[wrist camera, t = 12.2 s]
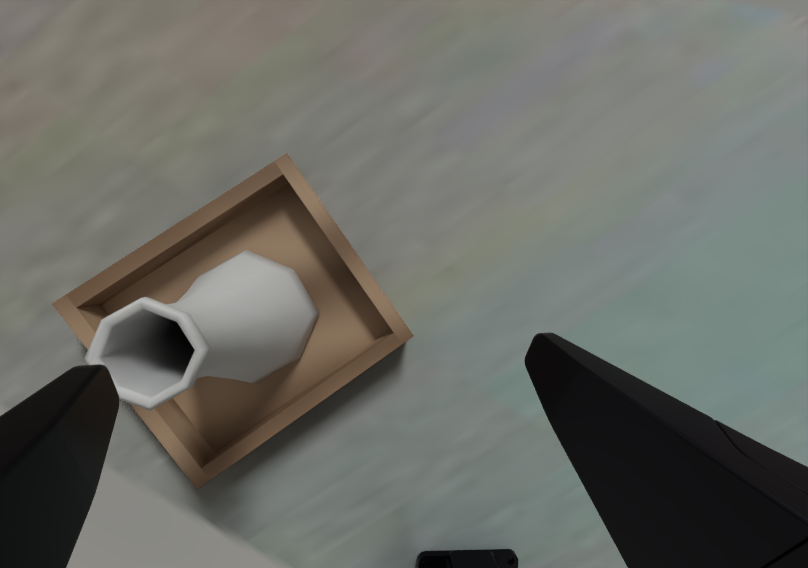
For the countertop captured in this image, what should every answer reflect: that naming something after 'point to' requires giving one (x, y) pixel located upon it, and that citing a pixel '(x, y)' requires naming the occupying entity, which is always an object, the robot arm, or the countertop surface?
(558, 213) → the countertop surface
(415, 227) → the countertop surface
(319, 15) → the countertop surface
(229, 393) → the wooden tray
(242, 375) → the flask
